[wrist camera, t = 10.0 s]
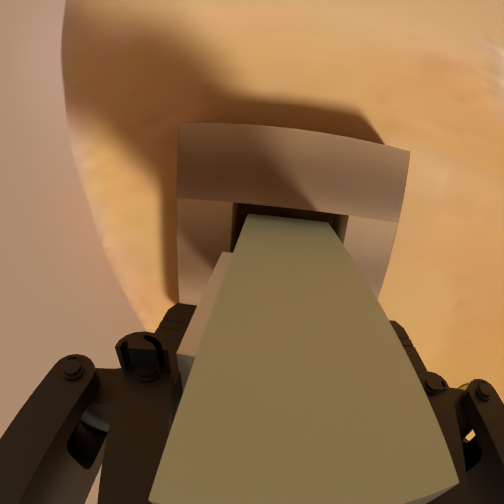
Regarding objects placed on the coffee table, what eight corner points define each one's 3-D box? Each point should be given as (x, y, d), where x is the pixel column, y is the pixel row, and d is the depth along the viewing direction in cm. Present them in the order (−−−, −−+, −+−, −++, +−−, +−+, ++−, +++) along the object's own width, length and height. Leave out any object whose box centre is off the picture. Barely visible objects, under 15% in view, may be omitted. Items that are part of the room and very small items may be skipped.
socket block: (196, 126, 15) (177, 122, 12) (388, 149, 15) (413, 151, 11) (193, 320, 20) (181, 348, 17) (346, 335, 20) (355, 364, 17)
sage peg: (247, 213, 15) (147, 499, 2) (328, 222, 15) (459, 482, 2) (242, 285, 17) (187, 533, 4) (314, 292, 17) (355, 535, 4)
